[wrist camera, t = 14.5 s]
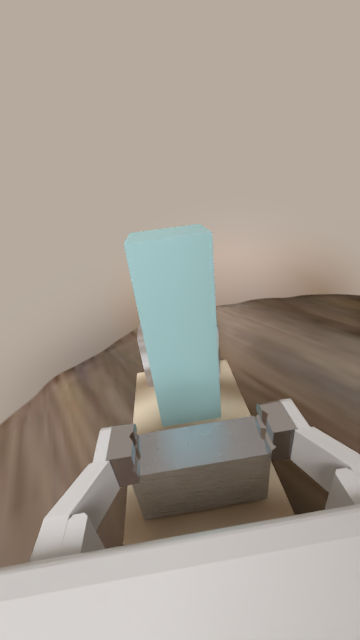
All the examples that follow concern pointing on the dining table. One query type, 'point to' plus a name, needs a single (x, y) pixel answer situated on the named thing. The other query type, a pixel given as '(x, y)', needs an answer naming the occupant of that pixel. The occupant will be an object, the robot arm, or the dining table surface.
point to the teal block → (178, 319)
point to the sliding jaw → (202, 467)
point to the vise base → (151, 422)
